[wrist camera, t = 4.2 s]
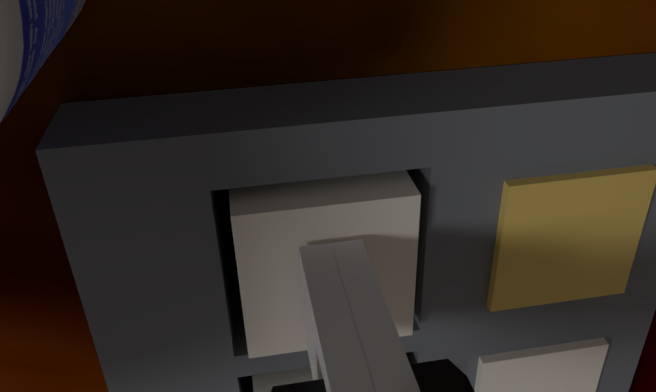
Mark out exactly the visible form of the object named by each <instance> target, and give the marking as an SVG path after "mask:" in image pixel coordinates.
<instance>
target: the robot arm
mask: <svg viewBox="0 0 656 392" xmlns="http://www.w3.org/2000/svg"><path fill="white" fill-rule="evenodd" d="M299 260H300V276H301V292H302V308H303V324H304V336H305V341H306V346H307V351H308V356H309V361H310V367H311V372H312V377H313V380H312V381H306V382H299V383H292V384H286V385H279V386H273V388H272V390H271V392H475V391H474V389H473V387H472V385H471V383H470V381H469V379H468V377H467V376H466V375H465V374H464V373H463V372H462V371H461V370H460V369H459V368H458V367H457V366H456V365H454V364H453V363H452V362H451V361H450V360H449V359H441V360H435V361H428V362H421V363H415V364H410V363H409V361H408V358H407V355H406V353H405V350H404V348H403V345H402V342H401V340H400V337H399V335H398V332H397V329H396V327H395V324H394V322H393V319H392V316H391V314H390V311H389V309H388V306H387V303H386V301H385V298H384V296H383V293H382V290H381V288H380V285H379V283H378V280H377V277H376V275H375V272H374V270H373V267H372V264H371V262H370V259H369V257H368V254H367V251H366V249H365V246H364V244H363V241H362V239H359V240H351V241H343V242H335V243H326V244H318V245H310V246H302V247H299Z"/></svg>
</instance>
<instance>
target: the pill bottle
mask: <svg viewBox="0 0 656 392" xmlns="http://www.w3.org/2000/svg"><path fill="white" fill-rule="evenodd" d="M85 1H86V0H0V123H1V122H2V121H3V119H4V118H5V117H6V116H7V114H8V113H9V112H10V110H11V109H12V107H13V106H14V105H15V103H16V102H17V100H18V99H19V98H20V96H21V95H22V93H23V92H24V90H25V89H26V88H27V86H28V85H29V84H30V82H31V81H32V80H33V78H34V77H35V75H36V74H37V73H38V71H39V70H40V68H41V67H42V65H43V64H44V63H45V61H46V60H47V58H48V57H49V56H50V54H51V53H52V51H53V50H54V49H55V47H56V46H57V45H58V43H59V42H60V41H61V39H62V38H63V37H64V35H65V34H66V32H67V31H68V29H69V28H70V27H71V25H72V24H73V23H74V21H75V19H76V18H77V16H78V14H79V13H80V11H81V10H82V7H83V5H84V3H85Z"/></svg>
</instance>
